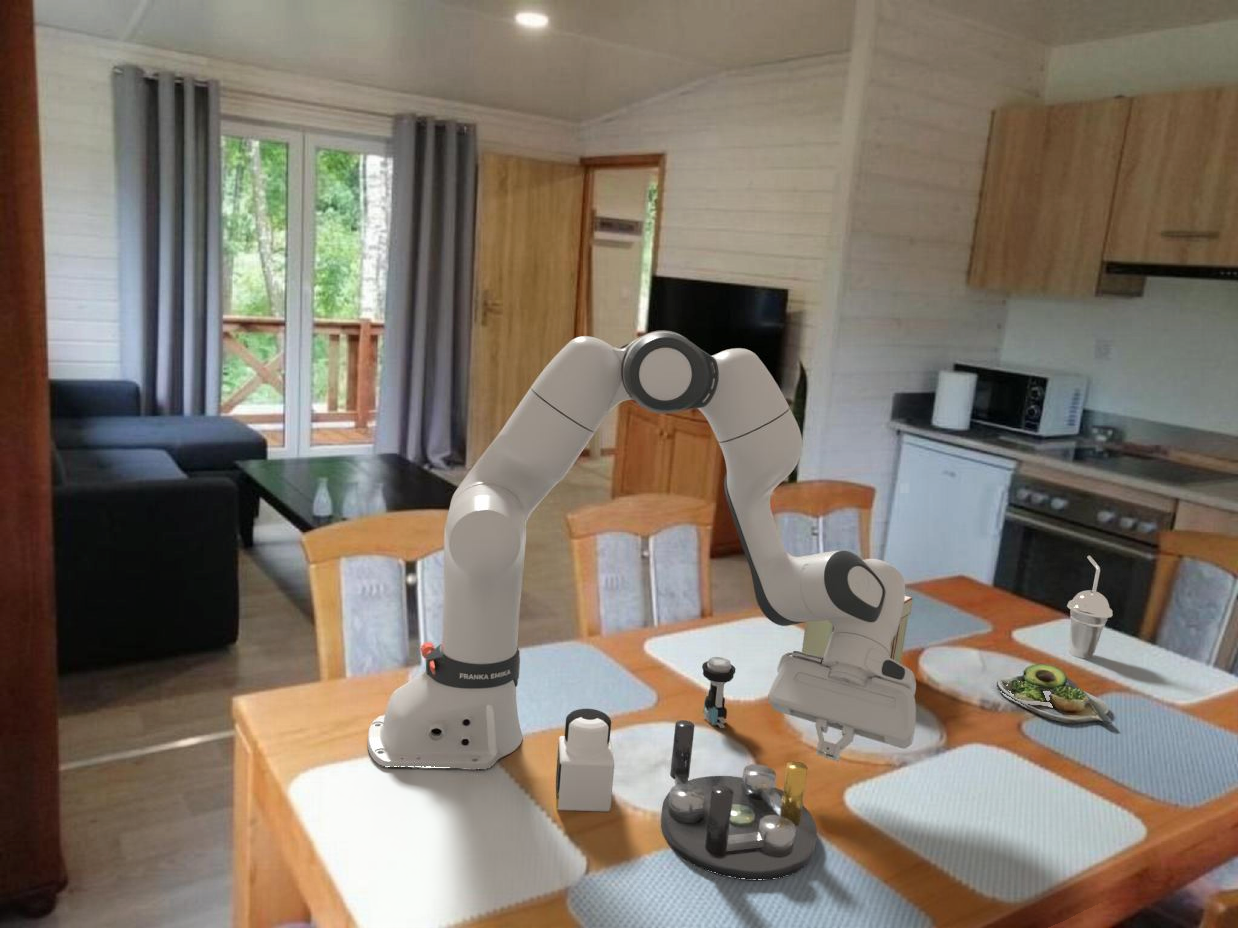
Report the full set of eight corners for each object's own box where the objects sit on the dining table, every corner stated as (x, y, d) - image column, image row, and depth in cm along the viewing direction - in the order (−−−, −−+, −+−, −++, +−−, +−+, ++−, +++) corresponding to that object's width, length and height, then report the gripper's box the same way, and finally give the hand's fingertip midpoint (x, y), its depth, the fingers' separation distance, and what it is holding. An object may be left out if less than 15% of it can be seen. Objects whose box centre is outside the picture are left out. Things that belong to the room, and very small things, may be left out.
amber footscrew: (735, 784, 128) (742, 730, 126) (763, 780, 130) (769, 726, 128) (780, 832, 117) (787, 773, 116) (809, 827, 119) (817, 769, 118)
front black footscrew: (782, 833, 117) (790, 774, 116) (799, 854, 113) (807, 793, 112) (698, 842, 114) (705, 782, 112) (712, 864, 110) (719, 802, 108)
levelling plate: (694, 889, 109) (696, 869, 108) (640, 795, 127) (642, 778, 127) (844, 869, 115) (847, 851, 114) (772, 782, 133) (774, 766, 133)
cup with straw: (1056, 654, 192) (1073, 562, 188) (1061, 642, 200) (1078, 553, 196) (1101, 666, 188) (1120, 572, 184) (1105, 653, 195) (1123, 562, 191)
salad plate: (1140, 725, 163) (1146, 701, 162) (1068, 738, 156) (1073, 712, 155) (1051, 678, 180) (1055, 656, 180) (982, 688, 173) (986, 665, 172)
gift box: (907, 664, 180) (920, 580, 177) (878, 696, 165) (892, 605, 162) (823, 640, 189) (834, 559, 186) (789, 668, 174) (800, 581, 170)
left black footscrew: (704, 823, 118) (710, 764, 116) (669, 821, 118) (676, 762, 116) (694, 775, 129) (699, 721, 128) (662, 773, 129) (668, 719, 127)
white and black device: (555, 781, 129) (561, 701, 126) (606, 783, 130) (613, 703, 127) (556, 811, 122) (562, 727, 120) (610, 812, 123) (617, 729, 120)
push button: (737, 729, 148) (744, 671, 146) (706, 731, 147) (713, 672, 145) (722, 710, 155) (728, 654, 153) (692, 711, 153) (698, 655, 151)
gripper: (781, 638, 135) (750, 725, 129) (925, 675, 126) (900, 771, 120) (787, 656, 140) (758, 742, 134) (926, 694, 131) (902, 787, 125)
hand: (826, 756), depth 127 cm, fingers closed
